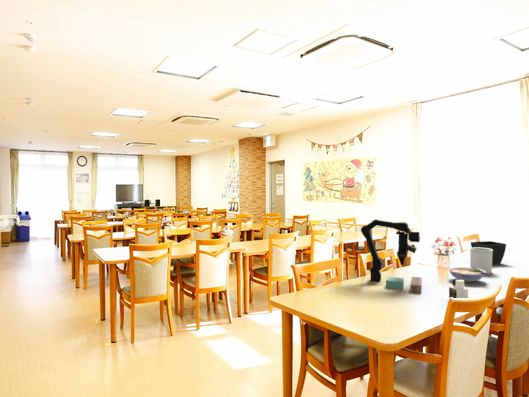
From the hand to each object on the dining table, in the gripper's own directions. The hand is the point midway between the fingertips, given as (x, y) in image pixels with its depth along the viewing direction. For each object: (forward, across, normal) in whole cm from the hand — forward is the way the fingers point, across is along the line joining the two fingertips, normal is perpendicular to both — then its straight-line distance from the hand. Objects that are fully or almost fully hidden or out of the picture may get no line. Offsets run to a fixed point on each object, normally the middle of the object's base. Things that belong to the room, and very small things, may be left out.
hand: (402, 263), depth 248 cm
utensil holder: (+12, +53, -53) cm, 76 cm away
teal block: (+14, -10, +4) cm, 17 cm away
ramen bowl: (+12, +20, -40) cm, 47 cm away
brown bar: (+13, -10, -9) cm, 19 cm away
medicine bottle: (+12, -29, -32) cm, 45 cm away
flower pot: (+12, +92, -62) cm, 112 cm away
